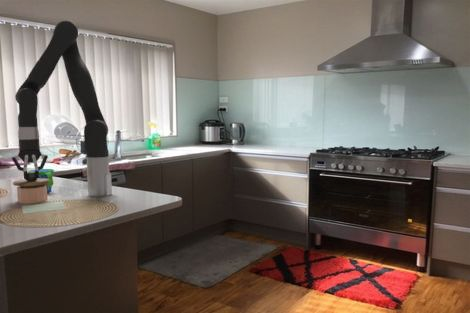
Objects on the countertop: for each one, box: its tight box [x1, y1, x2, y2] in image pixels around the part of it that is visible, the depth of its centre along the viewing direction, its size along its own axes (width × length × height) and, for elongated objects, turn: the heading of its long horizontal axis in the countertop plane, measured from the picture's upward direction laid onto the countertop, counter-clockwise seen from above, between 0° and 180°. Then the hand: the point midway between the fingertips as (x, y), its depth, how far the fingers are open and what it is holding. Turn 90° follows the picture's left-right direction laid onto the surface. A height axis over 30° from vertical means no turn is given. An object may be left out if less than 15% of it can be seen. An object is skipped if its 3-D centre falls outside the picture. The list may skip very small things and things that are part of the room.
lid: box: [12, 171, 50, 187], centre depth 171 cm, size 14×14×4 cm
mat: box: [21, 200, 68, 215], centre depth 159 cm, size 15×15×1 cm
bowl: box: [16, 184, 49, 205], centre depth 171 cm, size 11×11×6 cm
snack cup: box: [27, 168, 55, 193], centre depth 192 cm, size 16×10×10 cm
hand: (31, 179), depth 171 cm, fingers closed on lid, 3 cm apart
